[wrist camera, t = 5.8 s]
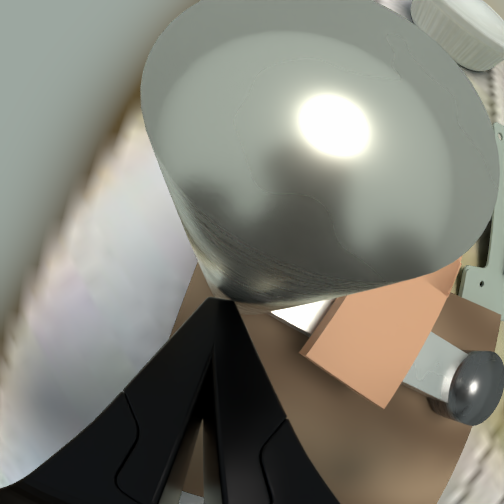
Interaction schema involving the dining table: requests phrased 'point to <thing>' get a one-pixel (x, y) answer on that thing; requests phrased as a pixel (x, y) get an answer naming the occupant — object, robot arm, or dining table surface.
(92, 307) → the dining table surface
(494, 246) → the metal bracket
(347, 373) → the block
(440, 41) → the ramekin
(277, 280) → the grey cylinder with bar
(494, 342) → the board
